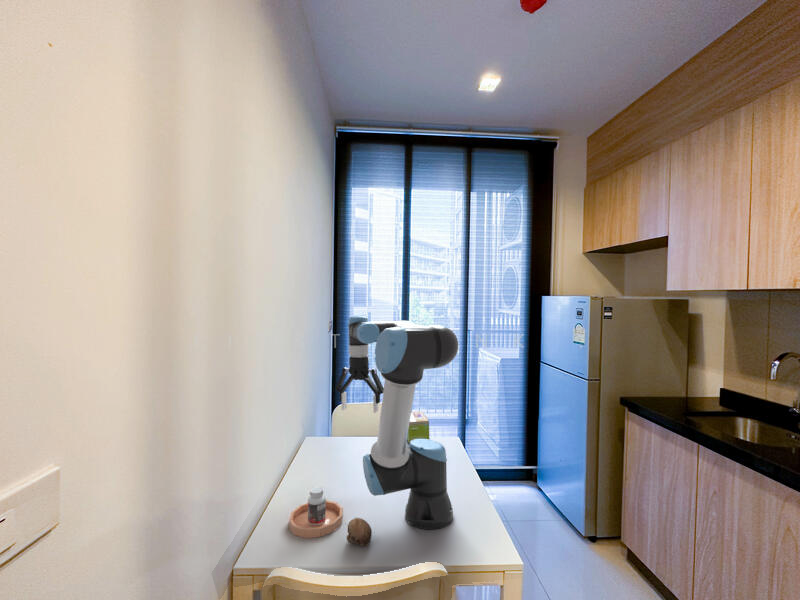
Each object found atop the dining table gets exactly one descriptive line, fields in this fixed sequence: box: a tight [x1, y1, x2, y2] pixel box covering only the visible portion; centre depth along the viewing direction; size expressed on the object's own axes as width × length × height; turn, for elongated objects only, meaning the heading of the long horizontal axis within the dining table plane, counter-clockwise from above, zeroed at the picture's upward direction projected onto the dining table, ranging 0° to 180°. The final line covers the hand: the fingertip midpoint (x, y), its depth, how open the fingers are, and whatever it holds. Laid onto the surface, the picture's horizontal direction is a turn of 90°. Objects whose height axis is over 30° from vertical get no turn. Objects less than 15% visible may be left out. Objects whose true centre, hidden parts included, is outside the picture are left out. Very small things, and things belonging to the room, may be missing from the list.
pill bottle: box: [307, 486, 327, 526], centre depth 114 cm, size 5×5×10 cm
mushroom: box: [346, 517, 373, 547], centre depth 105 cm, size 8×8×6 cm
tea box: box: [406, 411, 431, 448], centre depth 175 cm, size 15×10×15 cm
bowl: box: [288, 499, 344, 539], centre depth 115 cm, size 16×16×2 cm
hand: (359, 410), depth 143 cm, fingers open, 13 cm apart
